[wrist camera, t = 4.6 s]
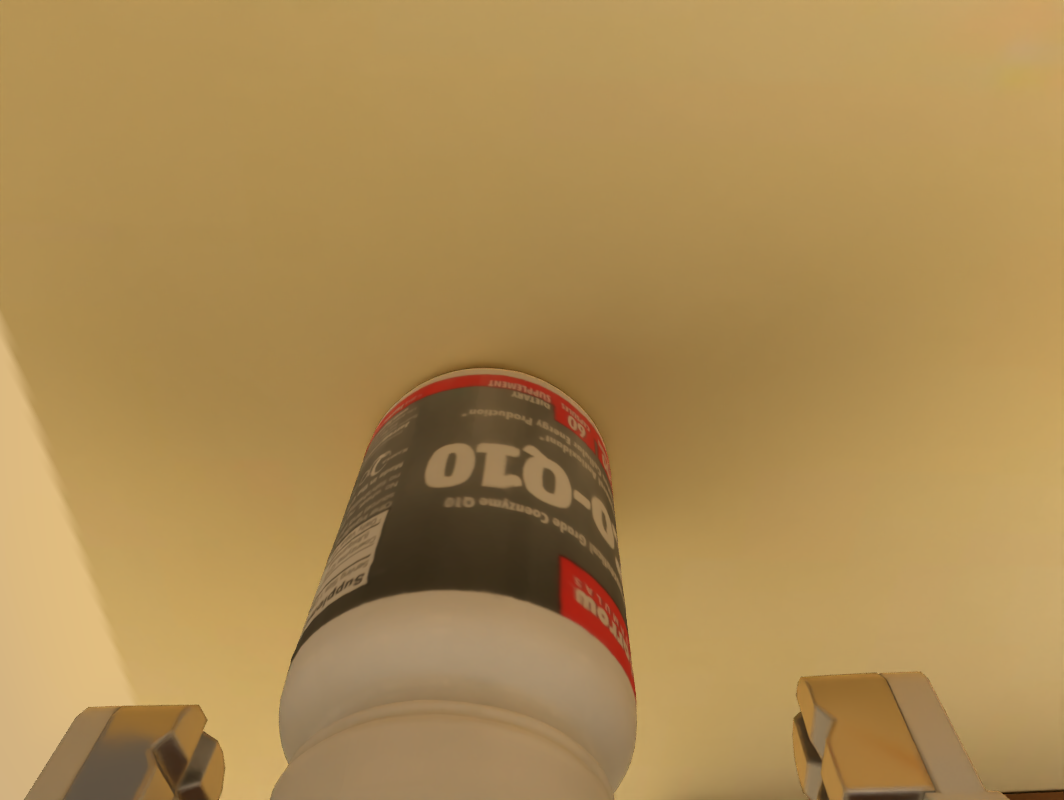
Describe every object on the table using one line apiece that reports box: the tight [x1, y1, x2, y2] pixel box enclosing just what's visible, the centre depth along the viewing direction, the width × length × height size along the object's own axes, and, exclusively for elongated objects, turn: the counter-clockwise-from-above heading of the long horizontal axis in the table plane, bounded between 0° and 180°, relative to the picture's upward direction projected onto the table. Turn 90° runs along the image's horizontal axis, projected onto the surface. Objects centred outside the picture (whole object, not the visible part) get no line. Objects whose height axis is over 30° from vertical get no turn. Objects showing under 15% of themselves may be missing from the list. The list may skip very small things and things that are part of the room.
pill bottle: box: [270, 368, 637, 800], centre depth 12 cm, size 5×5×8 cm
